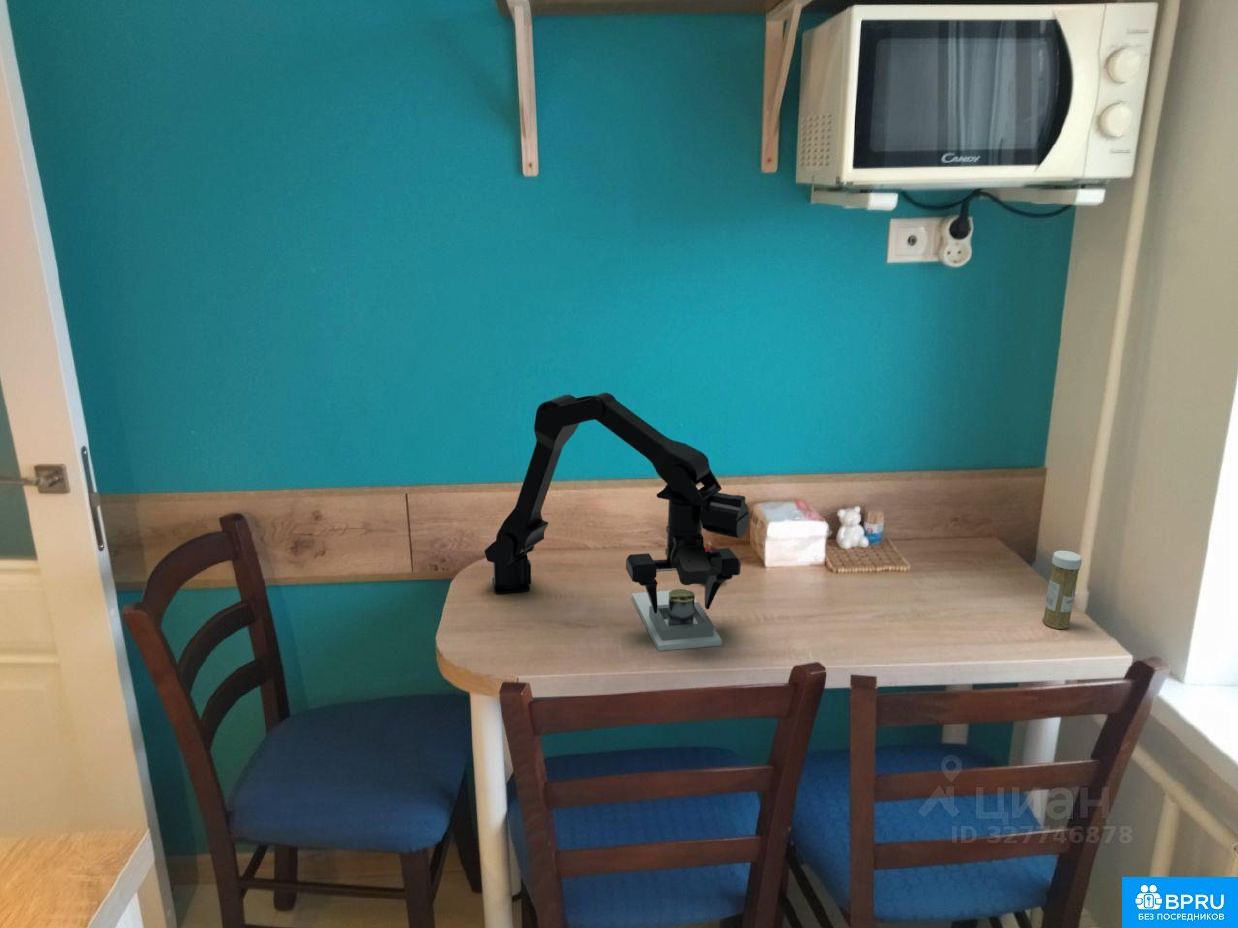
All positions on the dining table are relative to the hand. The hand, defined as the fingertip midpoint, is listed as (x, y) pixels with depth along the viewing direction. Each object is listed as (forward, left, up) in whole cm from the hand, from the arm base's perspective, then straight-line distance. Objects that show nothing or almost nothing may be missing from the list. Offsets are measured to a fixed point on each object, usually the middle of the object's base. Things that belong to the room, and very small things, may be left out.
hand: (681, 610), depth 158 cm
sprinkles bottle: (+67, -9, -4) cm, 68 cm away
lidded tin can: (0, 0, -3) cm, 3 cm away
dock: (0, +4, -4) cm, 6 cm away
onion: (+11, +19, -4) cm, 22 cm away
